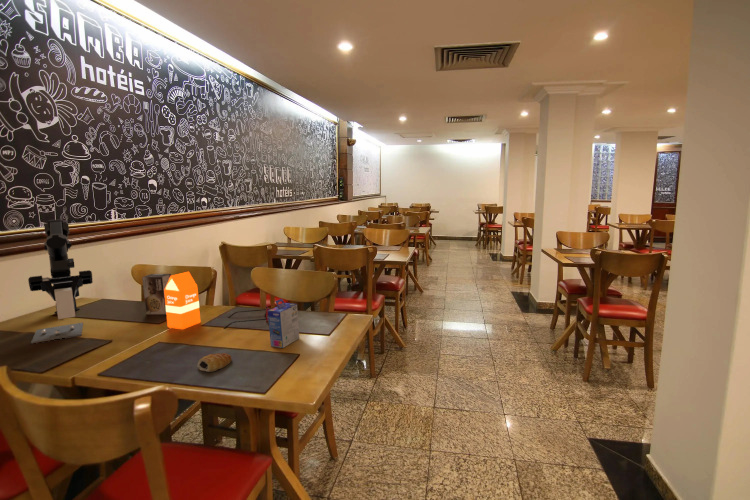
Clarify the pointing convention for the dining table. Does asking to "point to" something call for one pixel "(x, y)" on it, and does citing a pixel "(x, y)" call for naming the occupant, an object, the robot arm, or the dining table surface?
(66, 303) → the block
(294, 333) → the ink cartridge box
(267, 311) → the glasses
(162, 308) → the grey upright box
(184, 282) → the orange juice
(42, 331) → the locator pins
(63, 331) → the mat
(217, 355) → the pastry
